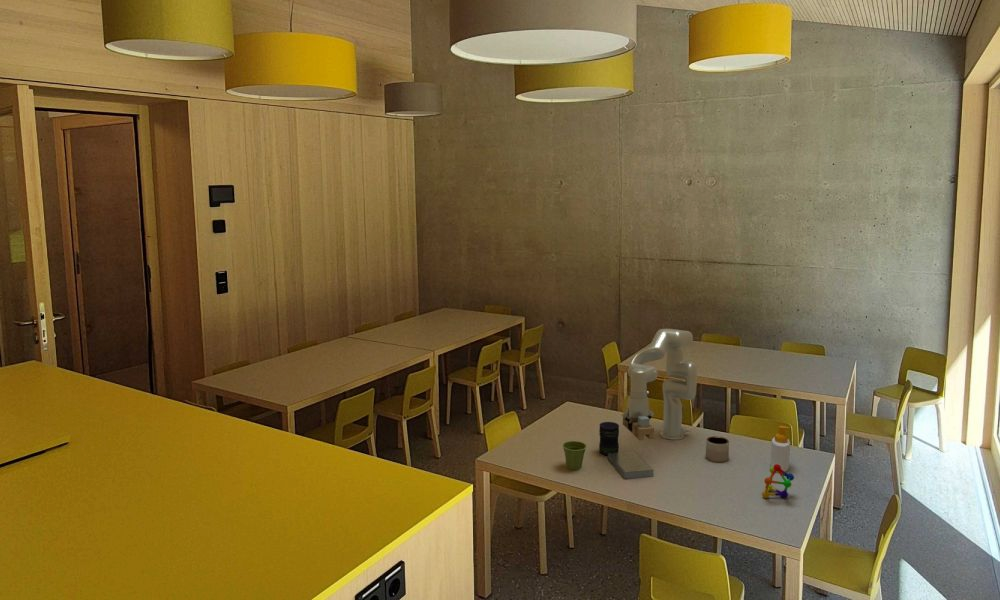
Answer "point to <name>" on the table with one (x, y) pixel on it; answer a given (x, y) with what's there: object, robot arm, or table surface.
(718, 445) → the planter
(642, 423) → the block
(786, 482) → the educational toy
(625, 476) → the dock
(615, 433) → the storage jar
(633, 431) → the wooden block carrier
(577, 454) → the plant pot
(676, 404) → the robot arm
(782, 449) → the soap bottle
